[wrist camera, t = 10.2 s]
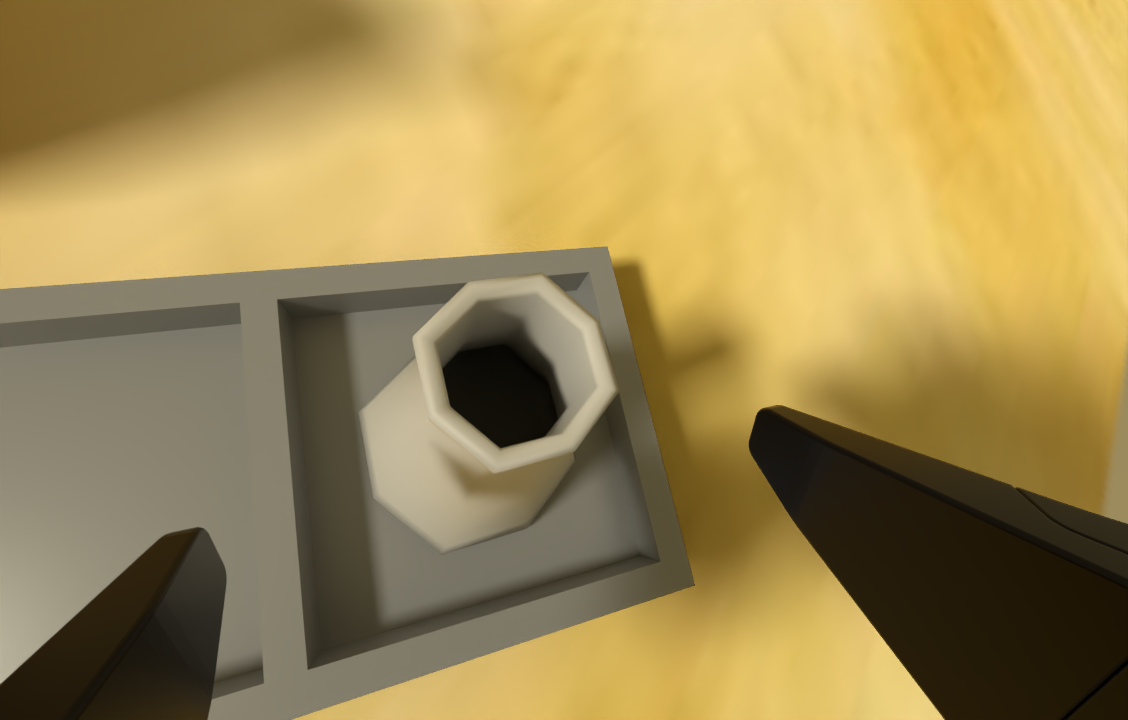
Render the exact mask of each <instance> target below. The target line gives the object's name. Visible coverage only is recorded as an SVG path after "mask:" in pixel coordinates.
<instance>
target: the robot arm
mask: <svg viewBox="0 0 1128 720" xmlns="http://www.w3.org/2000/svg"><path fill="white" fill-rule="evenodd" d="M749 450H750V453H751V455H752V457H753V458H754V460H755V461H756V463H757V465H758V466H759V468H760V469H761V471H762V473H763V474H764V476H765V477H766V479H767V480H768V482H769V484H770V485H771V487H772V488H773V490H774V492H775V493H776V495H777V496H778V498H779V499H780V501H781V503H782V504H783V506H784V507H785V509H786V511H787V512H788V514H789V515H790V517H791V518H792V520H793V521H794V523H795V524H796V525H797V527H798V528H799V529H800V531H801V532H802V534H803V535H804V536H805V538H806V539H807V540H808V541H809V543H810V544H811V545H812V547H813V548H814V549H815V551H816V552H817V553H818V555H819V556H820V557H821V558H822V560H823V561H824V562H825V564H826V565H827V566H828V568H829V569H830V570H831V572H832V573H833V574H834V575H835V577H836V578H837V579H838V581H839V582H840V583H841V585H842V586H843V587H844V589H845V590H846V591H847V592H848V594H849V595H850V596H851V598H852V599H853V600H854V602H855V603H856V604H857V606H858V607H859V608H860V609H861V611H862V612H863V613H864V615H865V616H866V617H867V619H868V620H869V621H870V623H871V624H872V625H873V626H874V628H875V629H876V630H877V632H878V633H879V634H880V636H881V637H882V638H883V640H884V641H885V642H886V644H887V645H888V646H889V647H890V649H891V650H892V651H893V653H894V654H895V655H896V657H897V658H898V659H899V661H900V662H901V663H902V664H903V666H904V667H905V668H906V670H907V671H908V672H909V674H910V675H911V676H912V678H913V679H914V680H915V681H916V683H917V684H918V685H919V687H920V688H921V689H922V691H923V692H924V693H925V695H926V696H927V697H928V698H929V700H930V701H931V702H932V704H933V705H934V706H935V708H936V709H937V710H938V712H939V713H940V714H941V715H942V717H943V718H944V719H945V720H1128V524H1126V523H1123V522H1120V521H1116V520H1114V519H1110V518H1107V517H1104V516H1101V515H1098V514H1095V513H1091V512H1088V511H1085V510H1083V509H1080V508H1077V507H1074V506H1071V505H1068V504H1065V503H1062V502H1059V501H1056V500H1053V499H1050V498H1047V497H1044V496H1041V495H1038V494H1035V493H1033V492H1030V491H1027V490H1024V489H1021V488H1018V487H1016V488H1014V487H1013V486H1011V485H1009V484H1006V483H1004V482H1001V481H998V480H995V479H992V478H989V477H986V476H983V475H981V474H978V473H975V472H972V471H969V470H966V469H963V468H960V467H958V466H955V465H952V464H949V463H946V462H943V461H940V460H937V459H935V458H932V457H929V456H926V455H923V454H920V453H917V452H914V451H912V450H909V449H906V448H903V447H900V446H897V445H894V444H892V443H889V442H886V441H883V440H880V439H877V438H874V437H871V436H869V435H866V434H863V433H860V432H857V431H854V430H851V429H848V428H846V427H843V426H840V425H837V424H834V423H831V422H828V421H825V420H823V419H820V418H817V417H814V416H811V415H808V414H805V413H802V412H800V411H797V410H794V409H791V408H788V407H785V406H782V405H775V406H771V407H766V408H762V409H760V410H759V412H758V413H757V415H756V418H755V422H754V425H753V429H752V432H751V436H750V439H749ZM226 584H227V575H226V569H225V566H224V563H223V561H222V559H221V557H220V555H219V553H218V551H217V549H216V547H215V545H214V543H213V541H212V539H211V537H210V535H209V533H208V532H207V531H206V530H205V529H204V528H202V527H194V528H190V529H185V530H180V531H175V532H171V533H168V534H165V535H163V536H162V537H161V538H159V539H158V540H157V541H156V542H155V543H154V544H153V545H151V546H150V547H149V548H148V549H147V550H146V551H145V552H144V553H143V554H142V555H141V556H139V557H138V558H137V559H136V560H135V561H134V562H133V563H132V564H131V565H130V566H129V567H127V568H126V569H125V570H124V571H123V572H122V573H121V574H120V575H119V576H118V577H117V578H115V579H114V580H113V581H112V582H111V583H110V584H109V585H108V586H107V587H106V588H104V589H103V590H102V591H101V592H100V593H99V594H98V595H97V596H96V597H95V598H94V599H92V600H91V601H90V602H89V603H88V604H87V605H86V606H85V607H84V608H83V609H82V610H80V611H79V612H78V613H77V614H76V615H75V616H74V617H73V618H72V619H71V620H70V621H68V622H67V623H66V624H65V625H64V626H63V627H62V628H61V629H60V630H59V631H58V632H56V633H55V634H54V635H53V636H52V637H51V638H50V639H49V640H48V641H47V642H46V643H44V644H43V645H42V646H41V647H40V648H39V649H38V650H37V651H36V652H35V653H34V654H32V655H31V656H30V657H29V658H28V659H27V660H26V661H25V662H24V663H23V664H22V665H20V666H19V667H18V668H17V669H16V670H15V671H14V672H13V673H12V674H11V675H10V676H8V677H7V678H6V679H5V680H4V681H3V682H2V683H1V684H0V720H208V716H209V711H210V706H211V702H212V695H213V688H214V682H215V673H216V665H217V657H218V649H219V641H220V633H221V625H222V617H223V609H224V601H225V593H226Z"/></svg>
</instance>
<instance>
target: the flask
mask: <svg viewBox="0 0 1128 720" xmlns="http://www.w3.org/2000/svg"><path fill="white" fill-rule="evenodd" d="M412 341H413V346H414V351H415V356H414V357H413V358H412V359H411V360H410V361H409V362H408V363H407V364H406V365H405V366H404V367H403V368H402V369H401V370H400V371H399V372H398V373H397V374H396V375H395V376H394V377H393V378H392V379H391V380H390V381H389V382H388V383H387V384H386V385H385V386H384V387H383V388H382V389H381V390H380V391H379V392H378V393H377V394H376V395H375V396H374V397H373V398H372V399H371V400H370V401H369V402H368V403H367V404H366V405H365V406H364V407H363V408H362V409H361V410H360V411H359V418H360V423H361V429H362V435H363V441H364V447H365V452H366V458H367V464H368V470H369V476H370V481H371V487H372V493H373V498H374V499H375V500H376V501H377V502H378V503H380V504H381V505H382V506H383V507H385V508H386V509H387V510H388V511H389V512H391V513H392V514H393V515H394V516H395V517H397V518H398V519H399V520H400V521H402V522H403V523H404V524H405V525H406V526H408V527H409V528H410V529H411V530H412V531H414V532H415V533H416V534H417V535H419V536H420V537H421V538H422V539H423V540H425V541H426V542H427V543H428V544H429V545H431V546H432V547H433V548H434V549H435V550H437V551H438V552H439V553H440V554H442V555H444V554H447V553H450V552H453V551H456V550H460V549H463V548H466V547H469V546H472V545H476V544H479V543H482V542H485V541H489V540H492V539H495V538H498V537H501V536H505V535H508V534H511V533H514V532H518V531H521V530H524V529H527V528H528V526H529V525H530V524H531V522H532V521H533V520H534V518H535V517H536V516H537V514H538V513H539V511H540V510H541V509H542V507H543V506H544V505H545V503H546V502H547V500H548V499H549V498H550V496H551V495H552V494H553V492H554V491H555V490H556V488H557V487H558V485H559V484H560V483H561V481H562V480H563V479H564V477H565V476H566V474H567V473H568V472H569V470H570V469H571V468H572V466H573V465H574V464H575V462H576V461H575V458H574V454H573V452H575V451H576V449H577V448H578V447H579V445H580V444H581V443H582V441H583V440H584V439H585V437H586V436H587V434H588V433H589V432H590V430H591V429H592V428H593V426H594V425H595V424H596V422H597V421H598V420H599V418H600V417H601V416H602V414H603V413H604V411H605V410H606V409H607V407H608V406H609V405H610V403H611V402H612V401H613V399H614V398H615V397H616V395H617V394H618V393H619V387H618V384H617V381H616V377H615V374H614V370H613V367H612V364H611V360H610V357H609V353H608V350H607V347H606V343H605V340H604V336H603V333H602V330H601V326H600V323H599V320H598V319H597V318H596V317H594V316H593V315H592V314H591V313H590V312H588V311H587V310H586V309H585V308H584V307H583V306H581V305H580V304H579V303H578V302H577V301H576V300H574V299H573V298H572V297H571V296H570V295H568V294H567V293H566V292H565V291H564V290H563V289H561V288H560V287H559V286H558V285H557V284H555V283H554V282H553V281H552V280H551V279H550V278H548V277H547V276H546V275H545V274H544V273H543V272H540V273H533V274H525V275H518V276H510V277H502V278H495V279H487V280H480V281H472V282H468V283H467V284H466V285H465V286H464V287H463V288H462V289H461V290H460V291H459V292H458V293H457V294H456V295H455V296H454V297H452V298H451V299H450V300H449V301H448V302H447V303H446V304H445V305H444V306H443V307H442V308H441V309H440V310H439V311H438V312H437V313H436V314H435V315H434V316H433V317H432V318H431V319H430V320H429V321H428V322H427V323H426V324H425V325H424V326H423V327H422V328H421V329H420V330H419V331H418V332H417V333H416V334H415V335H414V336H413V340H412Z"/></svg>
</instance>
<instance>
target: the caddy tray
mask: <svg viewBox="0 0 1128 720" xmlns="http://www.w3.org/2000/svg"><path fill="white" fill-rule="evenodd" d="M540 272H543V273H544V274H545V275H546V276H547V277H548V278H550V279H551V280H552V281H553V282H554V283H555V284H557V285H558V286H559V287H560V288H561V289H563V290H564V291H565V292H566V293H567V294H568V295H570V296H571V297H572V298H573V299H574V300H576V301H577V302H578V303H579V304H580V305H581V306H583V307H584V308H585V309H586V310H587V311H588V312H590V313H591V314H592V315H593V316H594V317H596V318H597V319H598V320H599V323H600V326H601V330H602V333H603V336H604V340H605V343H606V347H607V350H608V353H609V357H610V360H611V364H612V367H613V370H614V374H615V377H616V381H617V384H618V387H619V393H618V394H617V395H616V397H615V398H614V399H613V401H612V402H611V403H610V405H609V406H608V407H607V409H606V410H605V411H604V413H603V414H602V416H601V417H600V418H599V420H598V421H597V422H596V424H595V425H594V426H593V428H592V429H591V430H590V432H589V433H588V434H587V436H586V437H585V439H584V440H583V441H582V443H581V444H580V445H579V447H578V448H577V449H576V451H575V452H573V454H574V458H575V461H576V462H575V464H574V465H573V466H572V468H571V469H570V470H569V472H568V473H567V474H566V476H565V477H564V479H563V480H562V481H561V483H560V484H559V485H558V487H557V488H556V490H555V491H554V492H553V494H552V495H551V496H550V498H549V499H548V500H547V502H546V503H545V505H544V506H543V507H542V509H541V510H540V511H539V513H538V514H537V516H536V517H535V518H534V520H533V521H532V522H531V524H530V525H529V526H528V528H527V529H524V530H521V531H518V532H514V533H511V534H508V535H505V536H501V537H498V538H495V539H492V540H489V541H485V542H482V543H479V544H476V545H472V546H469V547H466V548H463V549H460V550H456V551H453V552H450V553H447V554H444V555H442V554H440V553H439V552H438V551H437V550H435V549H434V548H433V547H432V546H431V545H429V544H428V543H427V542H426V541H425V540H423V539H422V538H421V537H420V536H419V535H417V534H416V533H415V532H414V531H412V530H411V529H410V528H409V527H408V526H406V525H405V524H404V523H403V522H402V521H400V520H399V519H398V518H397V517H395V516H394V515H393V514H392V513H391V512H389V511H388V510H387V509H386V508H385V507H383V506H382V505H381V504H380V503H378V502H377V501H376V500H375V499H374V498H373V493H372V487H371V481H370V476H369V470H368V464H367V458H366V452H365V447H364V441H363V435H362V429H361V423H360V418H359V411H360V410H361V409H362V408H363V407H364V406H365V405H366V404H367V403H368V402H369V401H370V400H371V399H372V398H373V397H374V396H375V395H376V394H377V393H378V392H379V391H380V390H381V389H382V388H383V387H384V386H385V385H386V384H387V383H388V382H389V381H390V380H391V379H392V378H393V377H394V376H395V375H396V374H397V373H398V372H399V371H400V370H401V369H402V368H403V367H404V366H405V365H406V364H407V363H408V362H409V361H410V360H411V359H412V358H413V357H414V356H415V351H414V346H413V341H412V340H413V336H414V335H415V334H416V333H417V332H418V331H419V330H420V329H421V328H422V327H423V326H424V325H425V324H426V323H427V322H428V321H429V320H430V319H431V318H432V317H433V316H434V315H435V314H436V313H437V312H438V311H439V310H440V309H441V308H442V307H443V306H444V305H445V304H446V303H447V302H448V301H449V300H450V299H451V298H452V297H454V296H455V295H456V294H457V293H458V292H459V291H460V290H461V289H462V288H463V287H464V286H465V285H466V284H467V283H468V282H472V281H480V280H487V279H495V278H502V277H510V276H518V275H525V274H533V273H540ZM194 527H202V528H204V529H205V530H206V531H207V532H208V533H209V535H210V537H211V539H212V541H213V543H214V545H215V547H216V549H217V551H218V553H219V555H220V557H221V559H222V561H223V563H224V566H225V569H226V575H227V584H226V593H225V601H224V609H223V617H222V625H221V633H220V641H219V649H218V657H217V665H216V673H215V682H214V688H213V695H212V702H211V706H210V711H209V716H208V720H291V719H294V718H297V717H300V716H303V715H306V714H309V713H312V712H315V711H318V710H321V709H324V708H327V707H330V706H333V705H336V704H339V703H342V702H345V701H348V700H351V699H354V698H357V697H360V696H363V695H366V694H369V693H372V692H375V691H378V690H381V689H384V688H387V687H391V686H394V685H397V684H400V683H403V682H406V681H409V680H412V679H415V678H418V677H421V676H424V675H427V674H430V673H433V672H436V671H439V670H442V669H445V668H448V667H451V666H454V665H457V664H460V663H463V662H466V661H469V660H472V659H475V658H478V657H481V656H484V655H487V654H490V653H493V652H496V651H499V650H502V649H505V648H508V647H511V646H514V645H517V644H520V643H523V642H526V641H529V640H532V639H535V638H538V637H541V636H544V635H547V634H550V633H553V632H556V631H559V630H562V629H565V628H568V627H571V626H574V625H577V624H580V623H583V622H586V621H589V620H592V619H595V618H598V617H601V616H604V615H607V614H610V613H613V612H616V611H619V610H622V609H625V608H628V607H631V606H634V605H637V604H640V603H643V602H646V601H649V600H652V599H655V598H658V597H661V596H664V595H667V594H670V593H673V592H676V591H679V590H682V589H685V588H688V587H691V586H694V585H695V584H694V580H693V576H692V572H691V568H690V564H689V560H688V556H687V553H686V549H685V545H684V541H683V537H682V533H681V529H680V525H679V522H678V518H677V514H676V510H675V506H674V502H673V498H672V495H671V491H670V487H669V483H668V479H667V475H666V471H665V467H664V464H663V460H662V456H661V452H660V448H659V444H658V440H657V437H656V433H655V429H654V425H653V421H652V417H651V413H650V409H649V406H648V402H647V398H646V394H645V390H644V386H643V382H642V378H641V375H640V371H639V367H638V363H637V359H636V355H635V351H634V348H633V344H632V340H631V336H630V332H629V328H628V324H627V320H626V317H625V313H624V309H623V305H622V301H621V297H620V293H619V290H618V286H617V282H616V278H615V274H614V270H613V266H612V262H611V259H610V255H609V251H608V247H594V248H580V249H565V250H551V251H537V252H523V253H509V254H495V255H480V256H466V257H452V258H438V259H424V260H409V261H395V262H381V263H367V264H353V265H338V266H324V267H310V268H296V269H282V270H267V271H253V272H239V273H225V274H211V275H196V276H182V277H168V278H154V279H140V280H125V281H111V282H97V283H83V284H69V285H54V286H40V287H26V288H12V289H0V684H1V683H2V682H3V681H4V680H5V679H6V678H7V677H8V676H10V675H11V674H12V673H13V672H14V671H15V670H16V669H17V668H18V667H19V666H20V665H22V664H23V663H24V662H25V661H26V660H27V659H28V658H29V657H30V656H31V655H32V654H34V653H35V652H36V651H37V650H38V649H39V648H40V647H41V646H42V645H43V644H44V643H46V642H47V641H48V640H49V639H50V638H51V637H52V636H53V635H54V634H55V633H56V632H58V631H59V630H60V629H61V628H62V627H63V626H64V625H65V624H66V623H67V622H68V621H70V620H71V619H72V618H73V617H74V616H75V615H76V614H77V613H78V612H79V611H80V610H82V609H83V608H84V607H85V606H86V605H87V604H88V603H89V602H90V601H91V600H92V599H94V598H95V597H96V596H97V595H98V594H99V593H100V592H101V591H102V590H103V589H104V588H106V587H107V586H108V585H109V584H110V583H111V582H112V581H113V580H114V579H115V578H117V577H118V576H119V575H120V574H121V573H122V572H123V571H124V570H125V569H126V568H127V567H129V566H130V565H131V564H132V563H133V562H134V561H135V560H136V559H137V558H138V557H139V556H141V555H142V554H143V553H144V552H145V551H146V550H147V549H148V548H149V547H150V546H151V545H153V544H154V543H155V542H156V541H157V540H158V539H159V538H161V537H162V536H163V535H165V534H168V533H171V532H175V531H180V530H185V529H190V528H194Z"/></svg>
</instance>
